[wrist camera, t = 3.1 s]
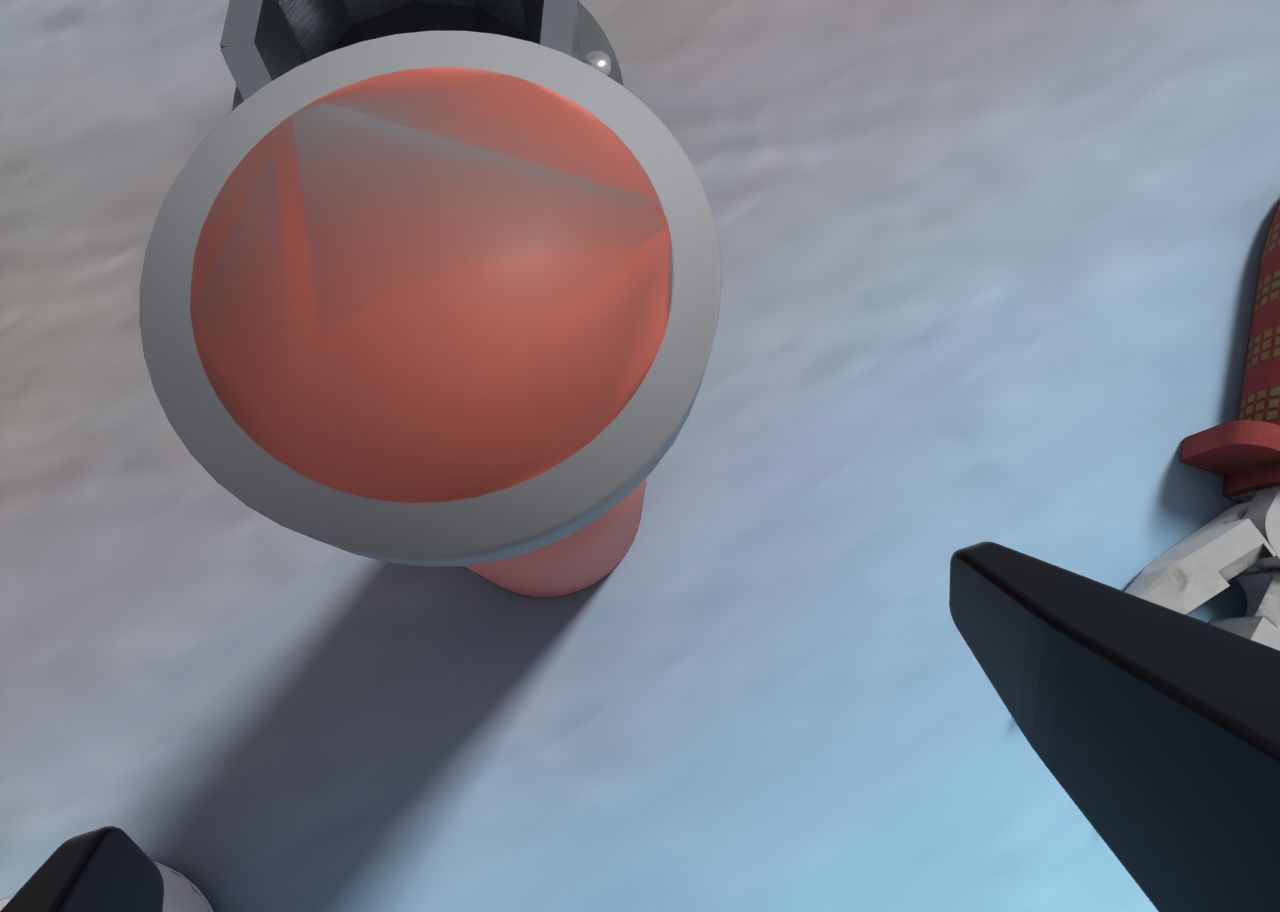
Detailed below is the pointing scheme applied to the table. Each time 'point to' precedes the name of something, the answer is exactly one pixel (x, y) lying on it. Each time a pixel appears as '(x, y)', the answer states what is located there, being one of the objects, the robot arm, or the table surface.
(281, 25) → the pipe socket
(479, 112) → the orange capped cylinder
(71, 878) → the robot arm
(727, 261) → the table surface
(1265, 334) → the pliers
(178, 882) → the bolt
